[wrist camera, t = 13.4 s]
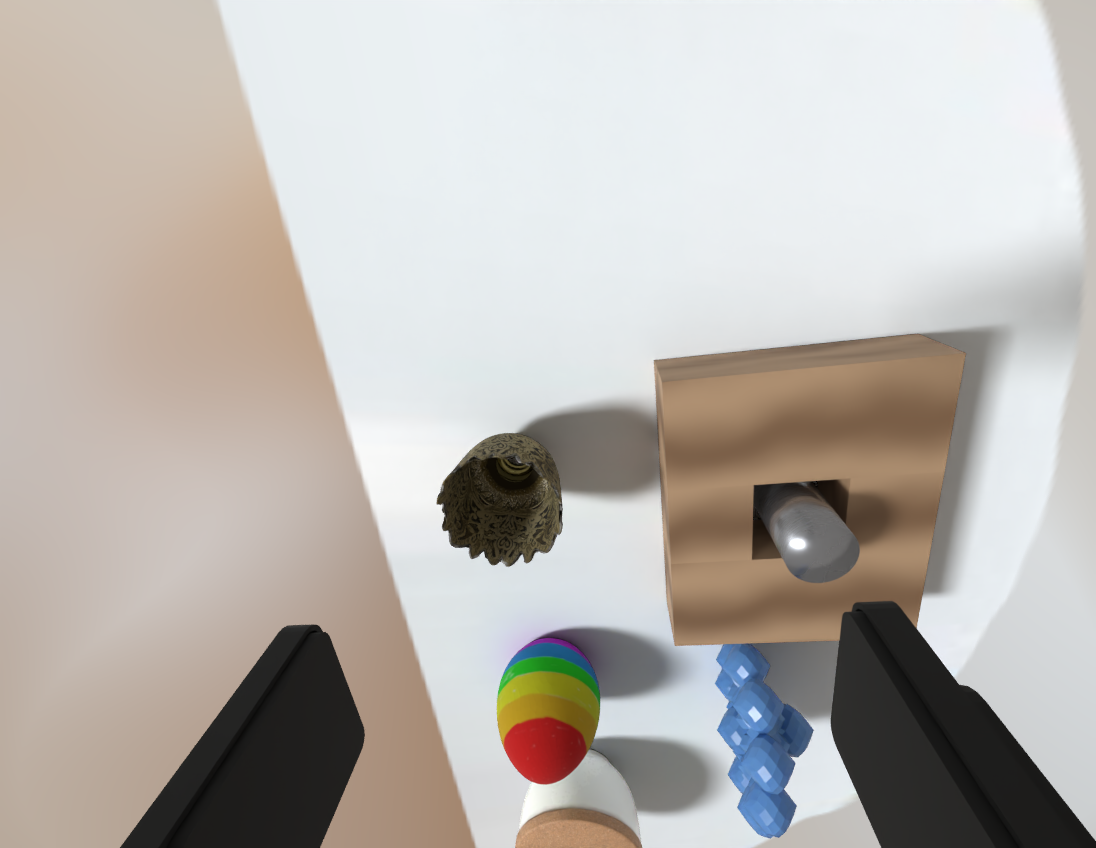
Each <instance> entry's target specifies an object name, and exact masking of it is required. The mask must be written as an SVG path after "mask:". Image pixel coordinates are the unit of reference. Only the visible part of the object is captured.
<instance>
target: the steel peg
mask: <svg viewBox="0 0 1096 848" xmlns="http://www.w3.org/2000/svg"><path fill="white" fill-rule="evenodd" d="M753 504H754V506H755V508H756V510H757V511H758V513H759V515H760V517H761V519H762V521H763V523H764V525H765V527H766V528H767V530H768V532H769V534H770V536H771V538H772V540H773V542H774V543H775V545H776V547H777V549H778V551H779V553H780V555H781V557H782V559H783V560H784V562H785V564H786V566H787V568H788V570H789V571H790V572H791V573H792V574H793V575H794V576H795V577H797V578H798V579H800V580H803V581H806V582H810V583H825V582H830V581H833V580H836V579H838V578H840V577H842V576H844V575H845V574H846V573H848V572H849V571H850V570H851V569H852V568H853V567H854V565H855V564H856V562H857V560H858V558H859V553H860V547H859V543H858V540H857V539H856V537H855V536H854V535H853V533H852V532H851V531H850V529H849V528H848V527H847V526H846V524H845V523H844V522H843V520H842V519H841V518H840V517H839V515H838V514H837V513H836V512H835V510H834V509H833V508H832V506H831V505H830V504H829V503H828V501H827V500H826V499H825V498H824V496H823V495H822V494H821V492H820V491H819V490H818V489H817V487H816V486H815V485H814V483H813V482H812V481H805V482H791V483H777V484H762V485H754V493H753Z"/></svg>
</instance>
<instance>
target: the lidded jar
mask: <svg viewBox="0 0 1096 848" xmlns="http://www.w3.org/2000/svg"><path fill="white" fill-rule="evenodd" d="M515 848H642V845H641V837H640V827H639V821H638V815H637V810H636V806H635V803H634V799H633V796H632V793H631V791H630V789H629V787H628V785H627V783H626V781H625V780H624V778H623V777H622V775H621V774H620V773H619V772H618V771H617V769H616V768H614V767H613V766H612V765H611V763H610V762H609V760H608V759H607V758H606V757H605V756H603V755H602V754H600V753H599V752H597V751H594V750H591V749H589V750H588V752H587V754H586V756H585V757H584V759H583V760H582V762H581V763H580V764H579V765H578V766H577V768H576V769H575V770H574V771H573V772H572V773H570V774H569V775H568V776H567V777H565V778H564V779H562V780H560V781H558V782H556V783H553V784H547V785H543V784H537V783H534V782H531V784H530V786H529V789H528V791H527V794H526V797H525V800H524V804H523V808H522V812H521V818H520V825H519V832H518V835H517V839H516V846H515Z"/></svg>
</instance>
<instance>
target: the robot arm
mask: <svg viewBox="0 0 1096 848" xmlns="http://www.w3.org/2000/svg"><path fill="white" fill-rule="evenodd" d="M831 730H832V735H833V738H834V742H835V744H836V747H837V749H838V751H839V754H840V756H841V758H842V760H843V763H844V765H845V767H846V769H847V771H848V774H849V776H850V778H851V780H852V783H853V785H854V787H855V789H856V792H857V794H858V796H859V798H860V801H861V803H862V805H863V807H864V810H865V812H866V814H867V816H868V819H869V821H870V823H871V825H872V828H873V830H874V832H875V834H876V836H877V839H878V841H879V843H880V845H881V848H1096V841H1095V840H1094V838H1093V837H1092V836H1091V835H1090V834H1089V832H1088V831H1087V830H1086V828H1085V827H1084V826H1083V824H1082V823H1081V822H1080V821H1079V819H1078V818H1077V817H1076V815H1075V814H1074V813H1073V812H1072V810H1071V809H1070V808H1069V807H1068V805H1067V804H1066V803H1065V801H1063V799H1062V798H1061V796H1060V795H1059V794H1058V793H1057V791H1056V790H1055V789H1054V788H1053V786H1052V785H1051V784H1050V782H1049V781H1048V780H1047V779H1046V777H1045V776H1044V775H1043V774H1042V772H1041V771H1040V770H1039V768H1038V767H1037V766H1036V765H1035V764H1034V762H1033V761H1032V760H1031V758H1030V757H1029V756H1028V754H1027V753H1026V752H1025V751H1024V749H1023V748H1022V747H1021V746H1020V744H1019V743H1018V742H1017V741H1016V739H1015V738H1014V737H1013V735H1012V734H1011V733H1010V732H1009V731H1008V729H1007V728H1006V726H1005V725H1004V724H1003V723H1002V721H1001V720H1000V719H999V718H998V716H997V715H996V714H995V712H994V711H993V710H992V709H991V707H990V706H989V705H988V704H987V702H986V701H985V700H984V699H983V698H982V697H981V696H980V695H979V694H978V693H977V692H976V691H975V690H973V689H972V688H970V687H968V686H963V685H959V684H958V683H957V681H956V680H955V679H954V677H953V676H952V675H951V673H950V672H949V671H948V670H947V668H946V667H945V666H944V664H943V663H942V662H941V660H940V659H939V658H938V656H937V655H936V654H935V652H934V651H933V650H932V648H931V647H930V646H929V644H928V643H927V642H926V640H925V639H924V638H923V637H922V635H921V634H920V633H919V631H918V630H917V629H916V627H915V626H914V625H913V623H912V622H911V621H910V619H909V618H908V617H907V615H906V614H905V613H904V611H903V610H902V609H901V608H900V606H899V605H898V604H897V603H895V602H893V601H875V602H856V603H854V605H853V607H852V612H844V613H843V615H842V622H841V631H840V640H839V649H838V658H837V667H836V677H835V686H834V695H833V704H832V713H831ZM364 736H365V734H364V727H363V724H362V722H361V719H360V716H359V713H358V711H357V708H356V706H355V703H354V700H353V697H352V695H351V692H350V689H349V687H348V684H347V682H346V679H345V676H344V673H343V671H342V668H341V665H340V663H339V660H338V657H337V655H336V652H335V650H334V647H333V644H332V641H331V639H330V636H329V635H328V634H327V633H326V632H323V631H322V630H321V628H320V627H319V626H318V625H293V626H286V627H284V628H283V629H282V630H281V631H280V632H279V633H278V634H277V636H276V637H275V638H274V640H273V641H272V642H271V644H270V645H269V646H268V648H267V649H266V651H265V652H264V653H263V655H262V656H261V657H260V659H259V660H258V661H257V663H256V664H255V666H254V667H253V668H252V670H251V671H250V672H249V674H248V675H247V676H246V678H245V679H244V680H243V682H242V683H241V684H240V686H239V687H238V689H237V690H236V691H235V693H234V694H233V696H232V697H231V698H230V699H229V701H228V702H227V704H226V705H225V706H224V707H223V709H222V710H221V712H220V713H219V714H218V716H217V717H216V719H215V720H214V721H213V722H212V724H211V725H210V727H209V728H208V729H207V731H206V732H205V733H204V735H203V736H202V737H201V739H200V740H199V741H198V743H197V744H196V745H195V747H194V748H193V750H192V751H191V752H190V754H189V755H188V756H187V758H186V759H185V760H184V762H183V763H182V764H181V766H180V767H179V769H178V770H177V771H176V773H175V774H174V775H173V777H172V778H171V779H170V781H169V782H168V783H167V785H166V786H165V787H164V789H163V790H162V792H161V793H160V794H159V796H158V797H157V798H156V800H155V801H154V802H153V804H152V805H151V806H150V808H149V809H148V811H147V812H146V813H145V815H144V816H143V817H142V819H141V820H140V821H139V823H138V824H137V825H136V827H135V828H134V830H133V831H132V832H131V834H130V835H129V836H128V838H127V839H126V840H125V842H124V843H123V844H122V846H121V847H120V848H320V846H321V844H322V842H323V839H324V837H325V835H326V832H327V830H328V828H329V825H330V823H331V821H332V818H333V816H334V814H335V811H336V809H337V807H338V804H339V802H340V799H341V797H342V795H343V792H344V790H345V788H346V785H347V783H348V781H349V778H350V776H351V774H352V771H353V769H354V766H355V764H356V762H357V760H358V757H359V755H360V753H361V750H362V747H363V743H364Z"/></svg>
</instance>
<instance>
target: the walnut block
mask: <svg viewBox="0 0 1096 848" xmlns="http://www.w3.org/2000/svg"><path fill="white" fill-rule="evenodd" d="M965 356H966V353H965V352H962V351H960V350H957V349H955V348H952V347H950V346H947V345H945V344H942V343H940V342H937V341H935V340H932V339H930V338H927V337H925V336H922V335H920V334H911V335H901V336H891V337H881V338H871V339H861V340H851V341H841V342H831V343H821V344H812V345H802V346H792V347H782V348H772V349H762V350H752V351H742V352H732V353H722V354H712V355H702V356H692V357H683V358H673V359H663V360H654V370H655V389H656V407H657V426H658V445H659V463H660V482H661V501H662V519H663V538H664V557H665V576H666V594H667V605H668V611H669V616H670V622H671V627H672V633H673V638H674V644H675V646H684V645H715V644H746V643H777V642H807V641H838V640H840V631H841V622H842V615H843V613H844V612H852V607H853V605H854V603H856V602H875V601H893V602H895V603H897V604H898V605H899V606H900V608H901V609H902V610H903V611H904V613H905V614H906V615H907V617H908V618H909V619H910V621H911V622H912V623H913V625H914V626H915V627H916V628H917V622H918V617H919V611H920V606H921V600H922V595H923V589H924V583H925V578H926V572H927V567H928V561H929V556H930V550H931V545H932V539H933V533H934V528H935V522H936V517H937V511H938V506H939V500H940V495H941V489H942V484H943V478H944V472H945V467H946V461H947V456H948V450H949V445H950V439H951V434H952V428H953V423H954V417H955V411H956V406H957V400H958V395H959V389H960V384H961V378H962V373H963V367H964V361H965ZM805 481H818V487H817V489H818V490H819V491H820V492H821V494H822V495H823V496H824V498H825V499H826V500H827V501H828V503H829V504H830V505H831V506H832V508H833V509H834V510H835V512H836V513H837V514H838V515H839V517H840V518H841V519H842V520H843V522H844V523H845V524H846V526H847V527H848V528H849V529H850V531H851V532H852V533H853V535H854V536H855V537H856V539H857V540H858V543H859V547H860V553H859V558H858V560H857V562H856V564H855V565H854V567H853V568H852V569H851V570H850V571H849V572H848V573H846V574H845V575H844V576H842V577H840V578H838V579H836V580H833V581H830V582H825V583H810V582H806V581H803V580H800V579H798V578H797V577H795V576H794V575H793V574H792V573H791V572H790V571H789V570H788V568H787V566H786V564H785V562H784V560H783V559H782V557H781V555H780V553H779V551H778V549H777V547H776V545H775V543H774V542H773V540H772V538H771V536H770V534H769V532H768V530H767V528H766V527H765V525H764V523H763V521H762V520H753V493H754V485H762V484H777V483H791V482H805Z"/></svg>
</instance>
